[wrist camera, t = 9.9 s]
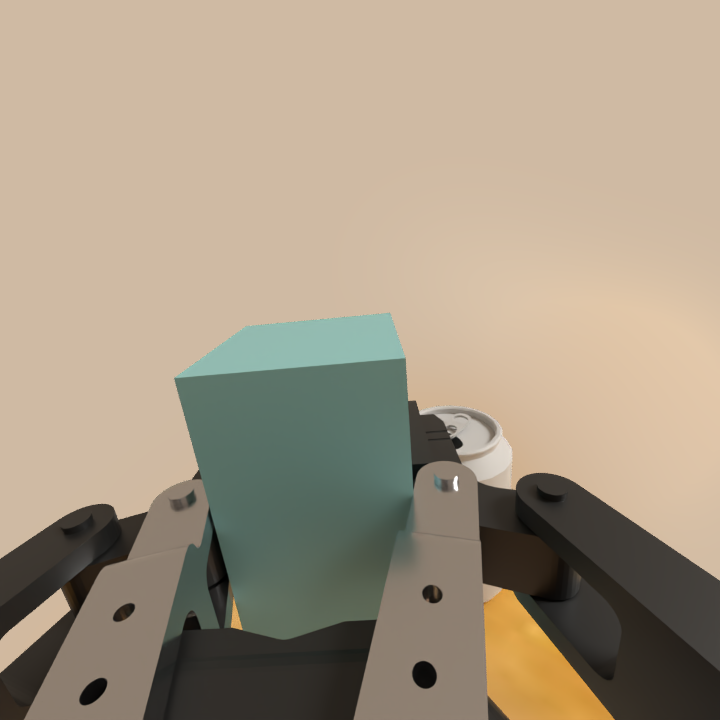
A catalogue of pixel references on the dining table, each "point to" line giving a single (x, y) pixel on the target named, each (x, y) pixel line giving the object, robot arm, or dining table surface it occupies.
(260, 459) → the pillar
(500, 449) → the can
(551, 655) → the dining table surface
